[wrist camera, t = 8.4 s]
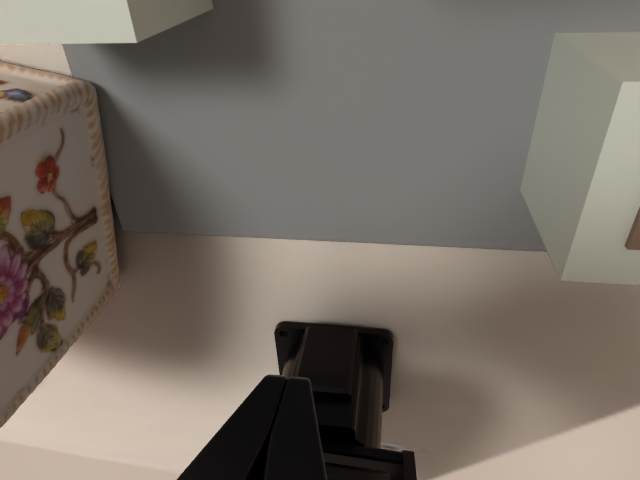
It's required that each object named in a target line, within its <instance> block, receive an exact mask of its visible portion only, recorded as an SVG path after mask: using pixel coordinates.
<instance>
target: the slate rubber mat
mask: <svg viewBox="0 0 640 480" xmlns="http://www.w3.org/2000/svg"><path fill="white" fill-rule="evenodd" d="M212 3H213V9H212V10H209V11H207V12H205V13H203V14H200V15H198V16H196V17H194V18H191V19H189V20H187V21H185V22H182V23H180V24H178V25H176V26H174V27H171V28H169V29H167V30H165V31H162V32H160V33H158V34H156V35H153V36H151V37H149V38H147V39H144V40H142V41H140V42H138V43H90V44H62V45H63V48H64V51H65V54H66V57H67V60H68V64H69V67H70V70H71V73H72V76H73V78H76V79H79V80H84V81H87V82H89V83H91V84H92V85H93V86H94V87H95V89H96V93H97V97H98V105H99V114H100V122H101V128H102V135H103V140H104V147H105V156H106V160H107V168H108V180H109V190H110V193H111V196H112V199H113V202H114V205H115V209H116V212H117V215H118V218H119V221H120V224H121V227H122V230H123V231H130V232H151V233H171V234H192V235H213V236H234V237H254V238H275V239H296V240H316V241H337V242H358V243H378V244H399V245H420V246H441V247H461V248H482V249H503V250H523V251H544V252H547V249H546V247H545V245H544V243H543V240H542V238H541V236H540V234H539V231H538V229H537V227H536V225H535V222H534V220H533V218H532V215H531V213H530V211H529V209H528V206H527V204H526V202H525V200H524V197H523V195H522V193H521V191H520V189H521V184H522V180H523V175H524V171H525V166H526V162H527V157H528V153H529V148H530V144H531V139H532V134H533V130H534V125H535V121H536V116H537V112H538V107H539V103H540V98H541V94H542V89H543V85H544V80H545V76H546V71H547V67H548V62H549V58H550V53H551V49H552V44H553V40H554V35H555V33H598V32H640V0H212Z"/></svg>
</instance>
